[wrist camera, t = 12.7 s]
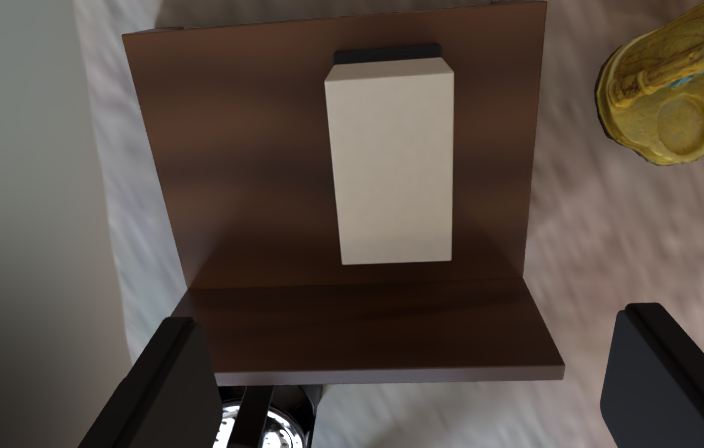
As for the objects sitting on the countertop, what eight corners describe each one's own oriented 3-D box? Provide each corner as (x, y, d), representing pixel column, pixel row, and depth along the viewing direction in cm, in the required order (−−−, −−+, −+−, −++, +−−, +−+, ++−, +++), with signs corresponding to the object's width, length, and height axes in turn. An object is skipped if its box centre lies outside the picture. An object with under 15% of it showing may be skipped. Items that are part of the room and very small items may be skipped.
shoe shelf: (152, 28, 30) (20, 52, 19) (526, -2, 28) (618, 6, 17) (208, 270, 37) (137, 388, 26) (507, 259, 35) (563, 380, 24)
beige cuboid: (335, 50, 26) (322, 67, 20) (439, 43, 25) (454, 58, 20) (352, 251, 31) (346, 306, 26) (438, 247, 30) (451, 303, 25)
